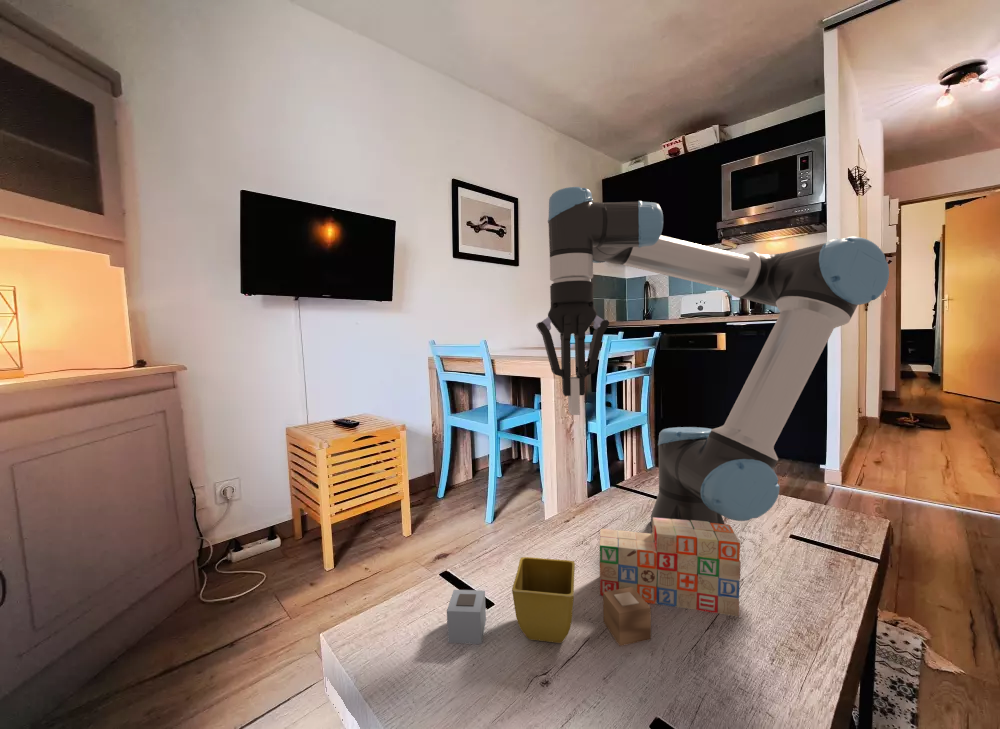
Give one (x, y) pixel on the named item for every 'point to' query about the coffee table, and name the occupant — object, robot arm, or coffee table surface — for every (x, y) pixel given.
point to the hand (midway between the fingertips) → (574, 413)
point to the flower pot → (544, 598)
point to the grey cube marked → (466, 616)
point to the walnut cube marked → (627, 616)
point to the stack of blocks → (675, 564)
